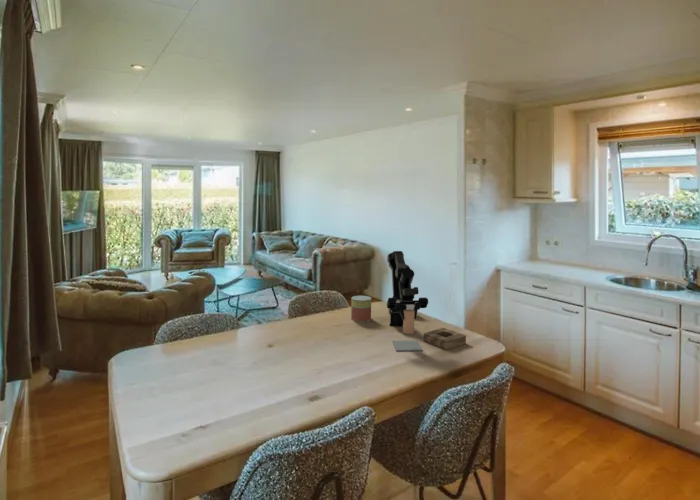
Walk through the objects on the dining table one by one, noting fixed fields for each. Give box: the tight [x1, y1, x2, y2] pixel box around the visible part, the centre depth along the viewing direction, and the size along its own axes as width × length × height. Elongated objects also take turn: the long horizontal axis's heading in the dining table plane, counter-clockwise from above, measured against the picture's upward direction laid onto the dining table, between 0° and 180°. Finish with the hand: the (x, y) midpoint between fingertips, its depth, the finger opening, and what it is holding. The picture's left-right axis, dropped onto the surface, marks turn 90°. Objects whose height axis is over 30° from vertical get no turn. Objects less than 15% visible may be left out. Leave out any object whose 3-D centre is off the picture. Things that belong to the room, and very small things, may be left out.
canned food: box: [350, 295, 372, 323], centre depth 237 cm, size 11×11×12 cm
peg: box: [402, 310, 415, 335], centre depth 194 cm, size 5×5×10 cm
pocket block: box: [423, 327, 467, 351], centre depth 202 cm, size 14×14×4 cm
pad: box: [391, 339, 424, 352], centre depth 196 cm, size 12×12×1 cm
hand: (409, 319), depth 193 cm, fingers closed on peg, 5 cm apart
